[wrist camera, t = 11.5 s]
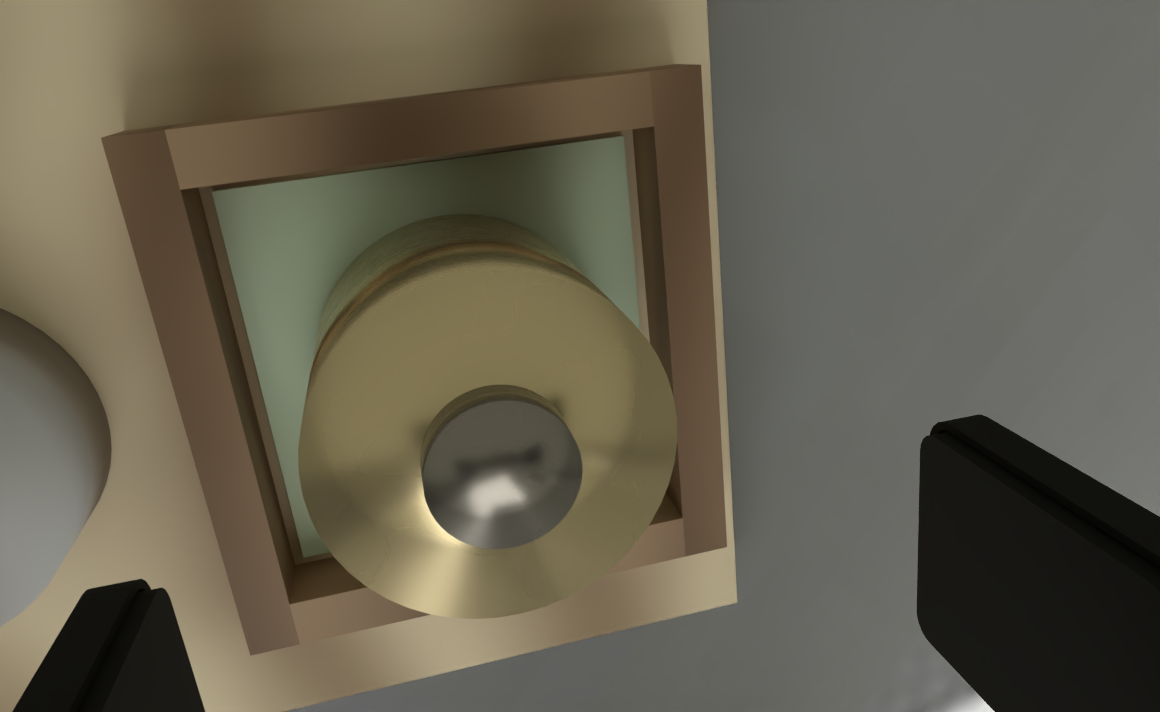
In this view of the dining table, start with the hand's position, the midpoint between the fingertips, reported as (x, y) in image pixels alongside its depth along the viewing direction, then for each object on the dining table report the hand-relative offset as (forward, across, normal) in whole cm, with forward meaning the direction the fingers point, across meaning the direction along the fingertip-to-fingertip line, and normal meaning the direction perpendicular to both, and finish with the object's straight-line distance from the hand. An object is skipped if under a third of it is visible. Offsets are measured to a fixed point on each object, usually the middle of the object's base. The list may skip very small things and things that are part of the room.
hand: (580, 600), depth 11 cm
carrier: (+10, +5, -1) cm, 11 cm away
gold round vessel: (+9, +1, 0) cm, 9 cm away
